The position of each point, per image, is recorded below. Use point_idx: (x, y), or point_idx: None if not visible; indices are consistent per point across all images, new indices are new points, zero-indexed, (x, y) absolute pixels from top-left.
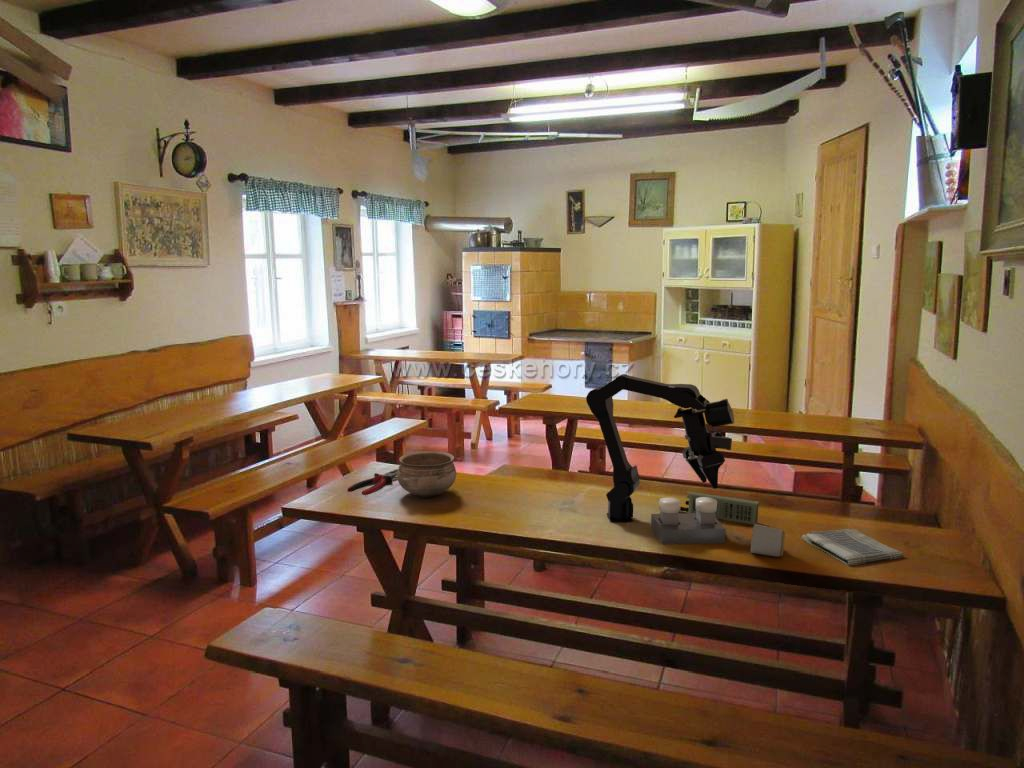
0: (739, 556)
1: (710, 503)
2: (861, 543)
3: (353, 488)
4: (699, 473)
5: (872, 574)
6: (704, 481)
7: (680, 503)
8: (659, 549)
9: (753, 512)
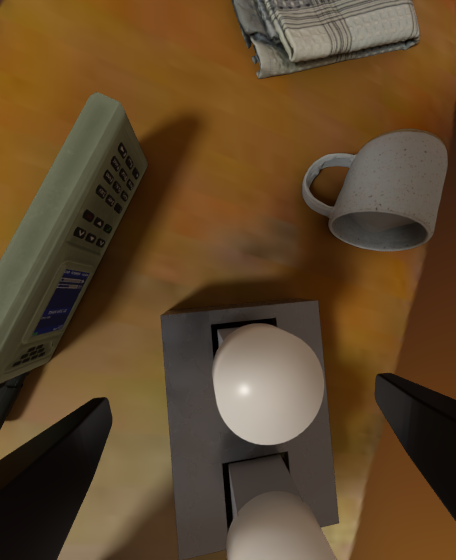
0: (377, 282)
1: (317, 373)
2: None
3: None
4: (52, 534)
5: (447, 22)
6: (106, 415)
7: (295, 524)
8: (348, 487)
9: (133, 146)
